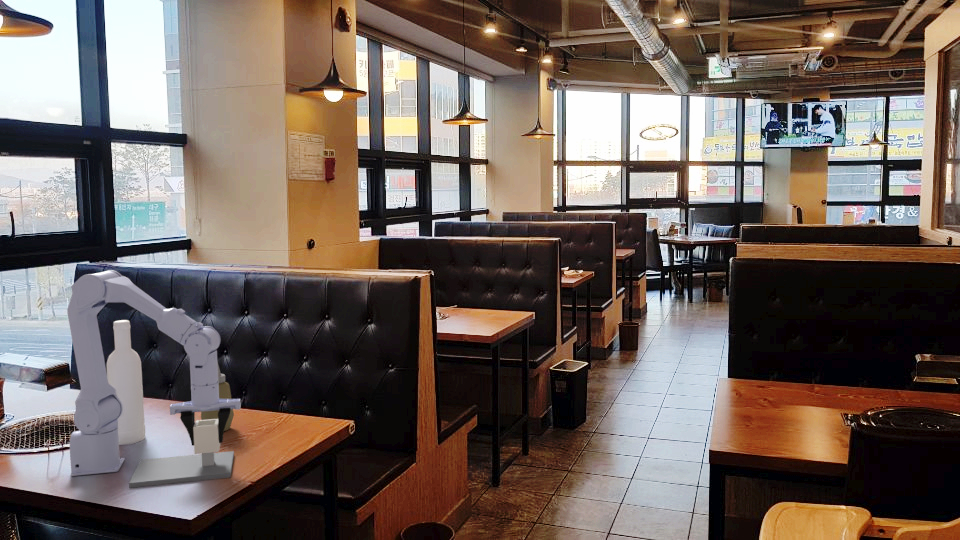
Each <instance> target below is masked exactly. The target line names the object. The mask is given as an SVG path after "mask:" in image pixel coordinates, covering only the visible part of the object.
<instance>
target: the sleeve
mask: <svg viewBox="0 0 960 540" xmlns="http://www.w3.org/2000/svg"><path fill="white" fill-rule="evenodd" d="M193 431H194V445H193V448H194V455H198V454H202V453H211V452H214V453H219V452H220V449H221V448H220V447H221V443H219V422H218V419H208V420H202V419H200V420H199V419H197V420H195V424H194V427H193Z"/></svg>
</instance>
